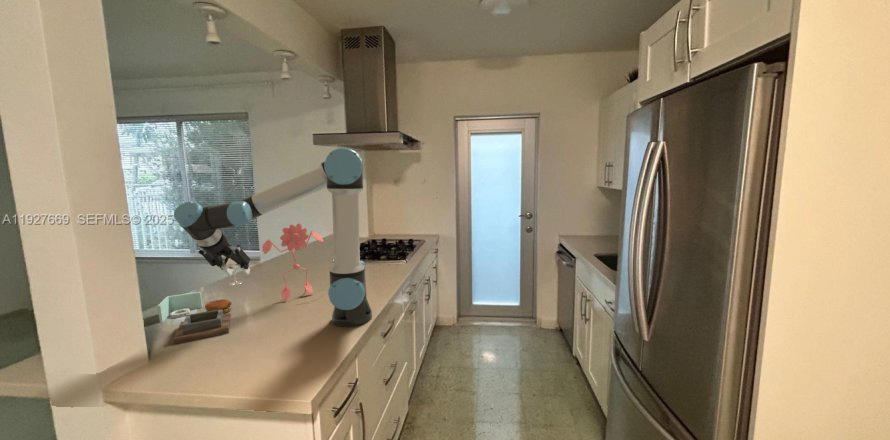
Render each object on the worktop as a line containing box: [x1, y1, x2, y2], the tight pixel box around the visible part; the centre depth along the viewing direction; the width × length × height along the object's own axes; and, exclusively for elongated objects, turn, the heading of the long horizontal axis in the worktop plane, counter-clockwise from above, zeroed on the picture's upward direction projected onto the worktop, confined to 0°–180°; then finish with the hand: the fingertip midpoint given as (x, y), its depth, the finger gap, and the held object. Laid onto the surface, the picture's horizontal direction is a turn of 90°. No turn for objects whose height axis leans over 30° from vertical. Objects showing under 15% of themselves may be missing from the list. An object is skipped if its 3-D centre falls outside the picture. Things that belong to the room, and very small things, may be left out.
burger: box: [204, 298, 232, 314], centre depth 147 cm, size 10×9×5 cm
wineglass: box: [224, 256, 243, 287], centre depth 131 cm, size 6×6×12 cm
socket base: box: [173, 309, 232, 345], centre depth 130 cm, size 16×16×5 cm
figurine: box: [261, 222, 325, 306], centre depth 157 cm, size 15×26×35 cm, turn 131°
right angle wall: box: [157, 291, 204, 323], centre depth 145 cm, size 12×12×8 cm
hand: (239, 272), depth 135 cm, fingers closed on wineglass, 6 cm apart
